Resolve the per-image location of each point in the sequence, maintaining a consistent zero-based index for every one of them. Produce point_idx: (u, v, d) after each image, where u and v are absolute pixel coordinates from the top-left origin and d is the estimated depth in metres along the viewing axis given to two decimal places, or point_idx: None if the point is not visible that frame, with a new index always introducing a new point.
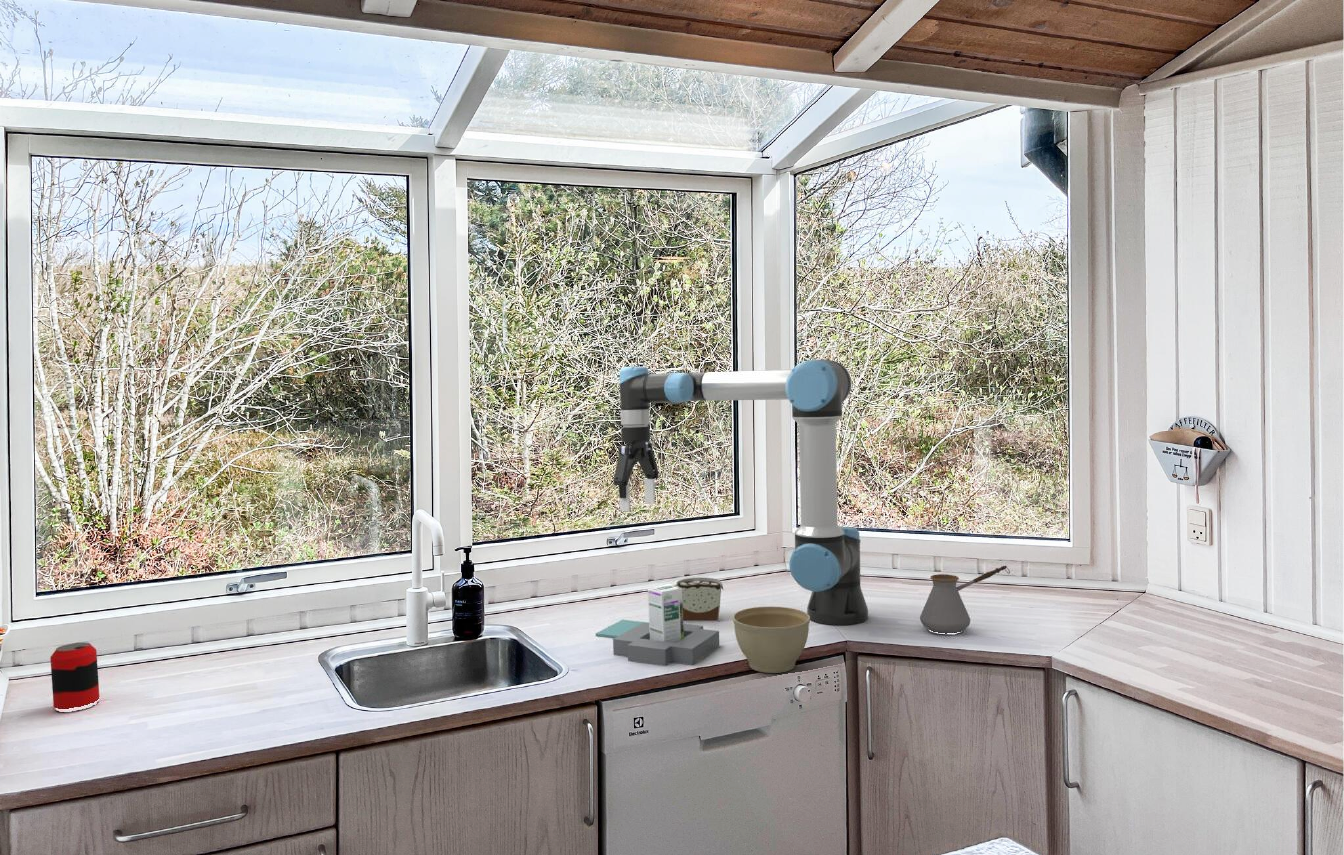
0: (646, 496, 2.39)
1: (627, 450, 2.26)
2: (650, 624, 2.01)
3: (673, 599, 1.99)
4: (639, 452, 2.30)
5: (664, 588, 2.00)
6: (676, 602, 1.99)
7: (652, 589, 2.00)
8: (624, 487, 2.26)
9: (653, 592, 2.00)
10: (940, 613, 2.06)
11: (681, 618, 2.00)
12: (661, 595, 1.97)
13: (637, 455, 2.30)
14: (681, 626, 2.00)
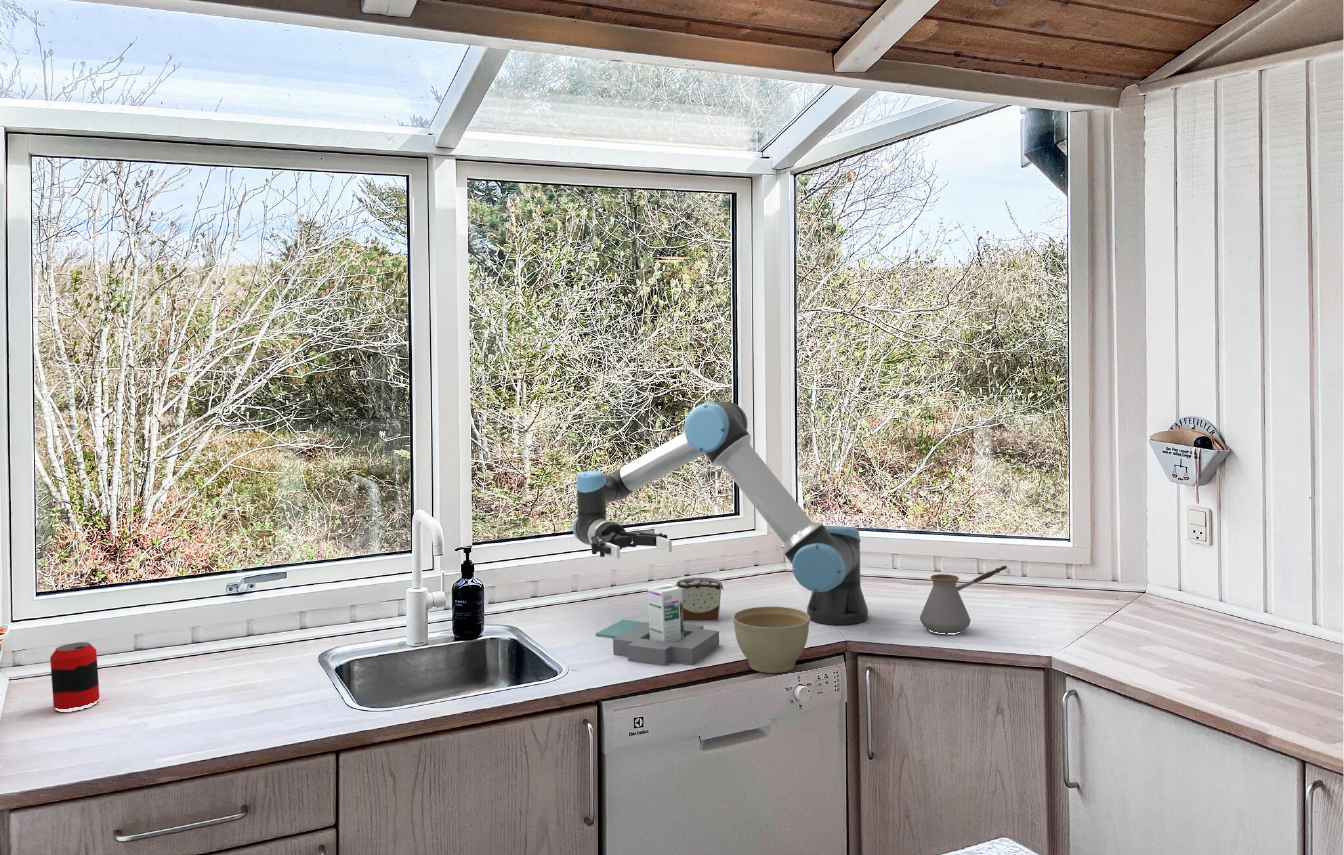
0: (665, 548, 2.14)
1: (592, 537, 2.19)
2: (650, 624, 2.01)
3: (673, 599, 1.99)
4: (612, 533, 2.21)
5: (664, 588, 2.00)
6: (676, 602, 1.99)
7: (652, 589, 2.00)
8: (603, 546, 2.11)
9: (653, 592, 2.00)
10: (940, 613, 2.06)
11: (681, 618, 2.00)
12: (661, 595, 1.97)
13: (610, 534, 2.20)
14: (681, 626, 2.00)
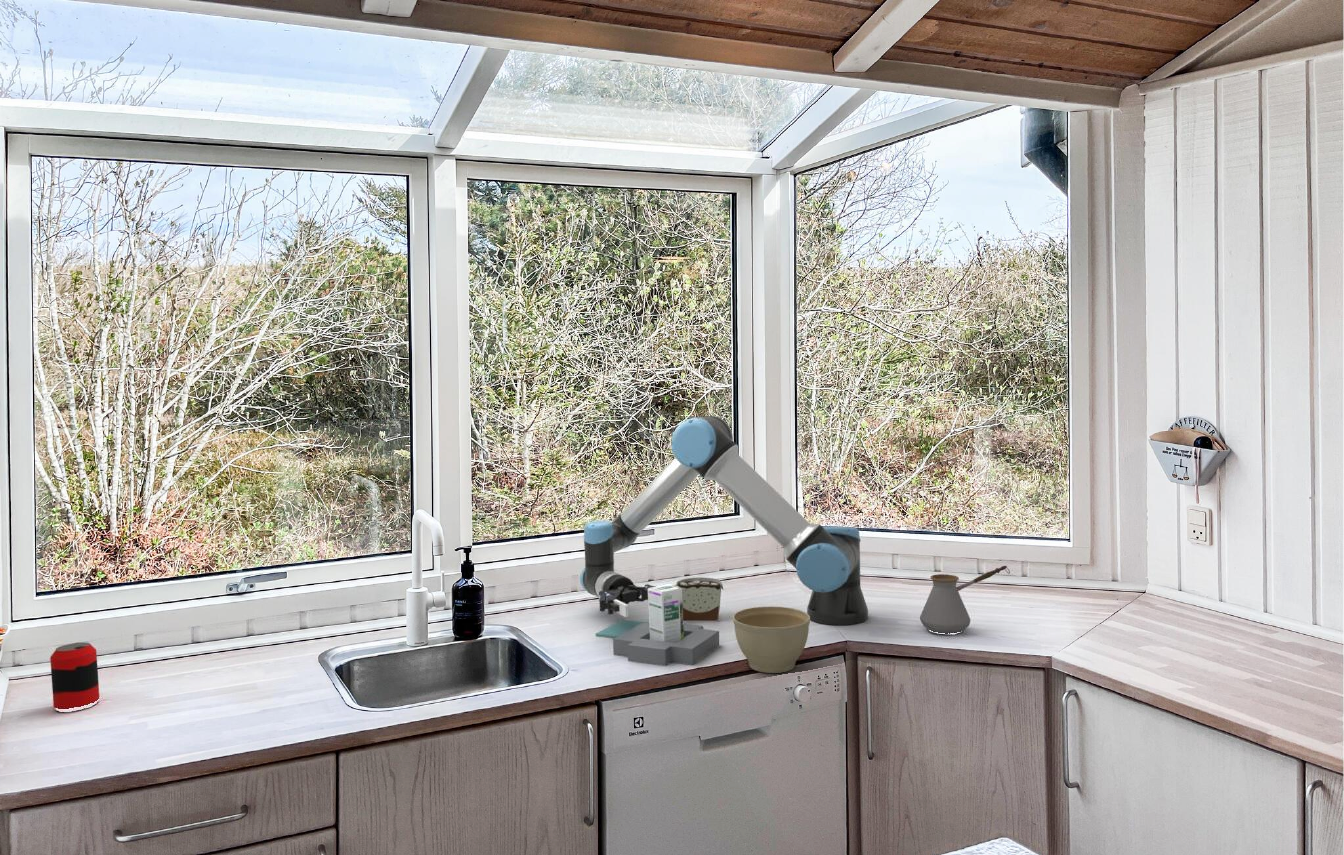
0: None
1: (600, 592, 2.16)
2: (650, 624, 2.01)
3: (673, 599, 1.99)
4: (620, 587, 2.17)
5: (664, 588, 2.00)
6: (676, 602, 1.99)
7: (652, 589, 2.00)
8: (611, 603, 2.07)
9: (653, 592, 2.00)
10: (940, 613, 2.06)
11: (681, 618, 2.00)
12: (661, 595, 1.97)
13: (619, 589, 2.16)
14: (681, 626, 2.00)
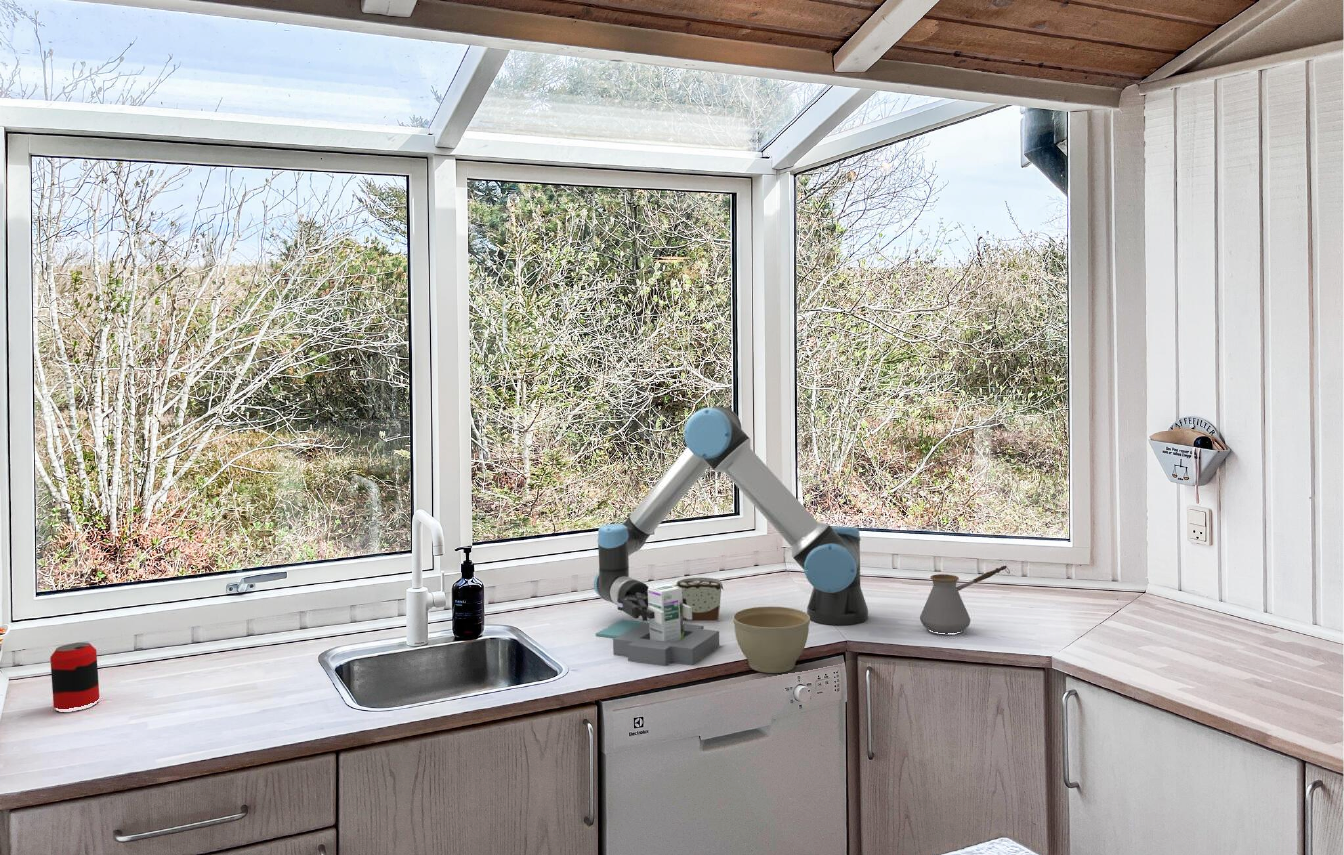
0: (685, 615, 2.00)
1: (620, 599, 2.07)
2: (650, 624, 2.01)
3: (673, 599, 1.99)
4: (637, 593, 2.10)
5: (664, 588, 2.00)
6: (676, 602, 1.99)
7: (652, 589, 2.00)
8: (645, 609, 2.00)
9: (653, 592, 2.00)
10: (940, 613, 2.06)
11: (681, 618, 2.00)
12: (661, 595, 1.97)
13: (638, 595, 2.09)
14: (681, 626, 2.00)
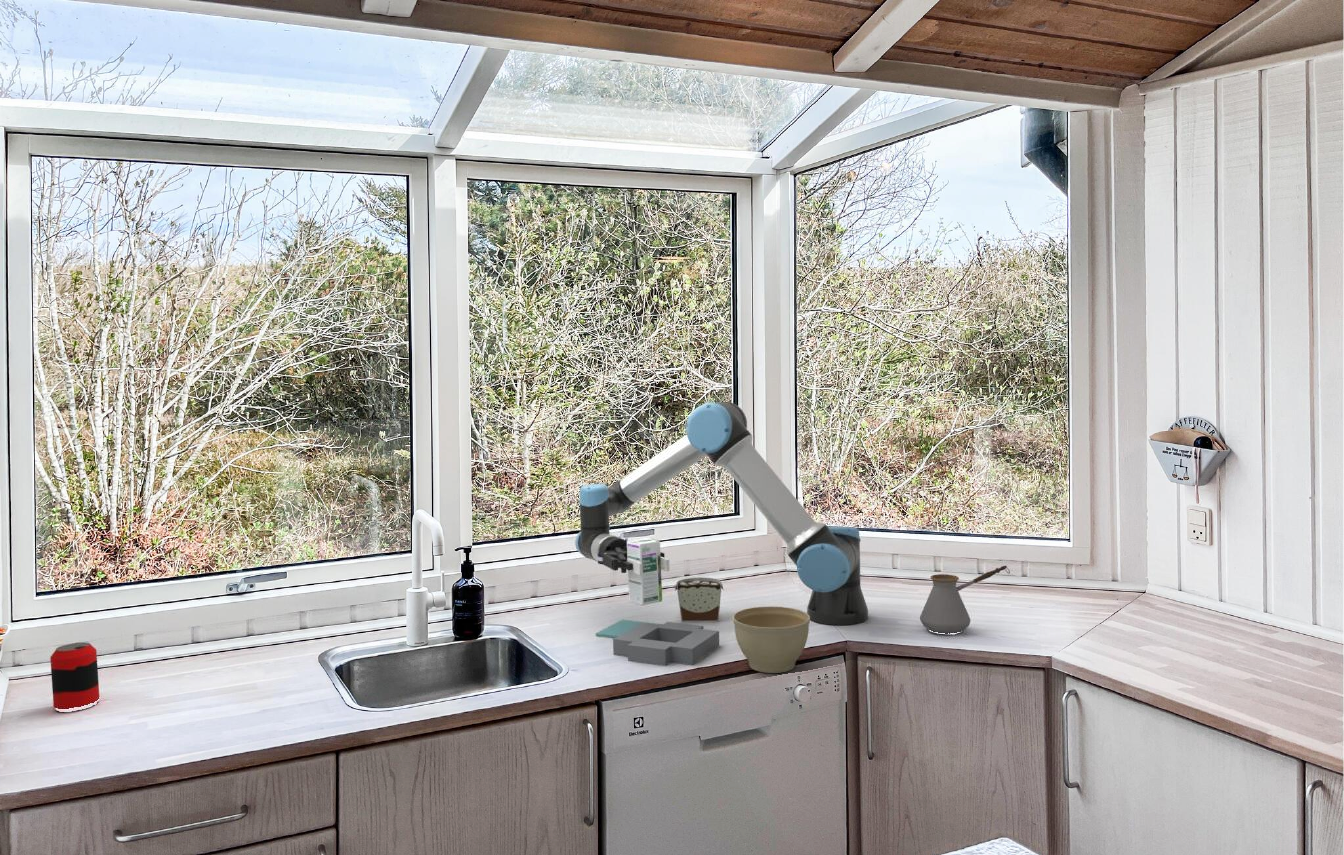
0: (662, 567, 2.06)
1: (600, 554, 2.14)
2: (629, 576, 2.08)
3: (651, 551, 2.06)
4: (617, 548, 2.17)
5: (642, 541, 2.06)
6: (654, 554, 2.06)
7: (631, 542, 2.07)
8: (624, 562, 2.06)
9: (632, 545, 2.06)
10: (940, 613, 2.06)
11: (659, 570, 2.07)
12: (639, 547, 2.04)
13: (617, 550, 2.16)
14: (659, 578, 2.07)
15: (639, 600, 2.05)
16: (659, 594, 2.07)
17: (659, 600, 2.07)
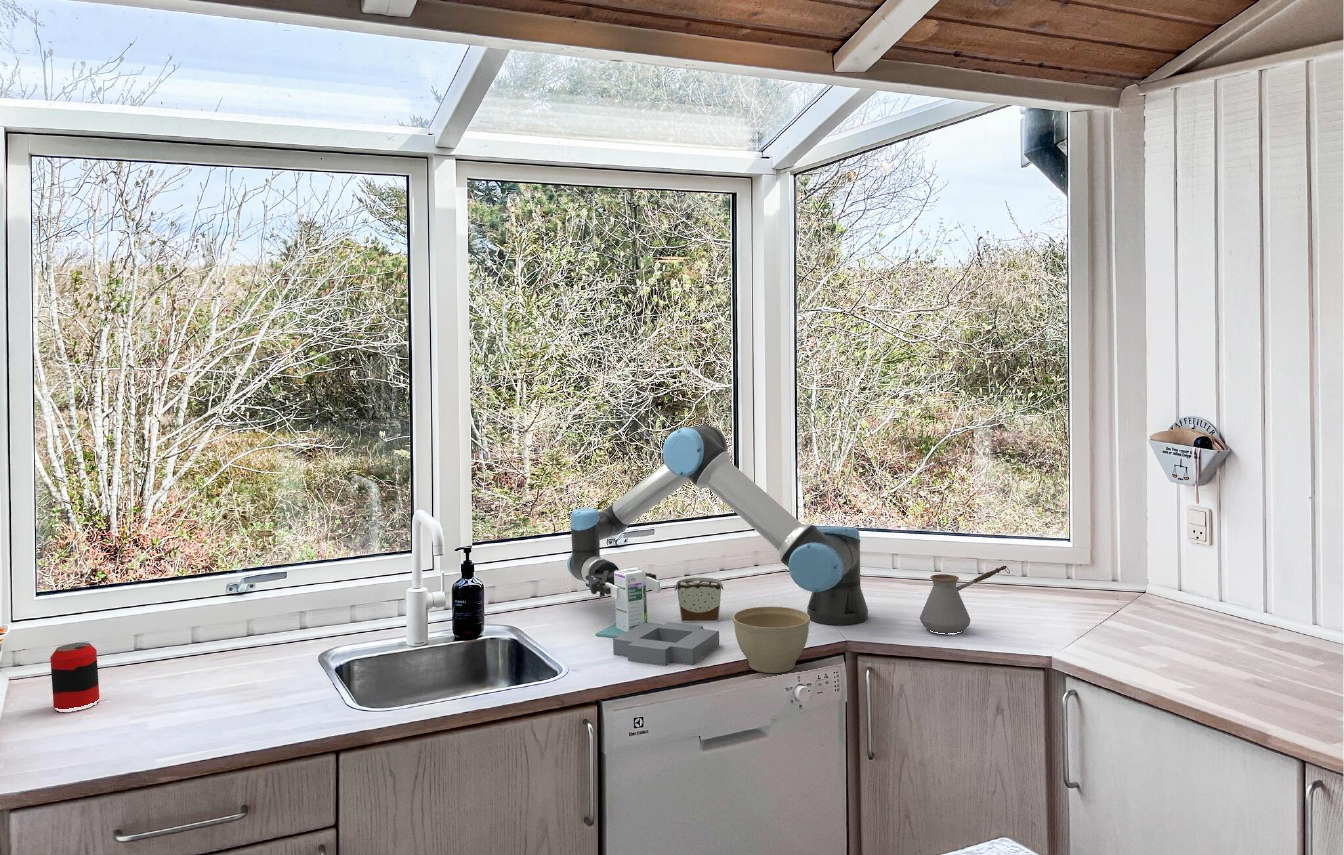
0: (654, 589, 2.17)
1: (587, 576, 2.24)
2: (616, 605, 2.17)
3: (636, 581, 2.14)
4: (605, 571, 2.26)
5: (629, 571, 2.15)
6: (639, 584, 2.15)
7: (618, 572, 2.16)
8: (603, 586, 2.15)
9: (618, 574, 2.15)
10: (940, 613, 2.06)
11: (644, 599, 2.16)
12: (625, 577, 2.13)
13: (605, 573, 2.25)
14: (644, 606, 2.16)
15: (625, 628, 2.14)
16: (644, 622, 2.16)
17: None
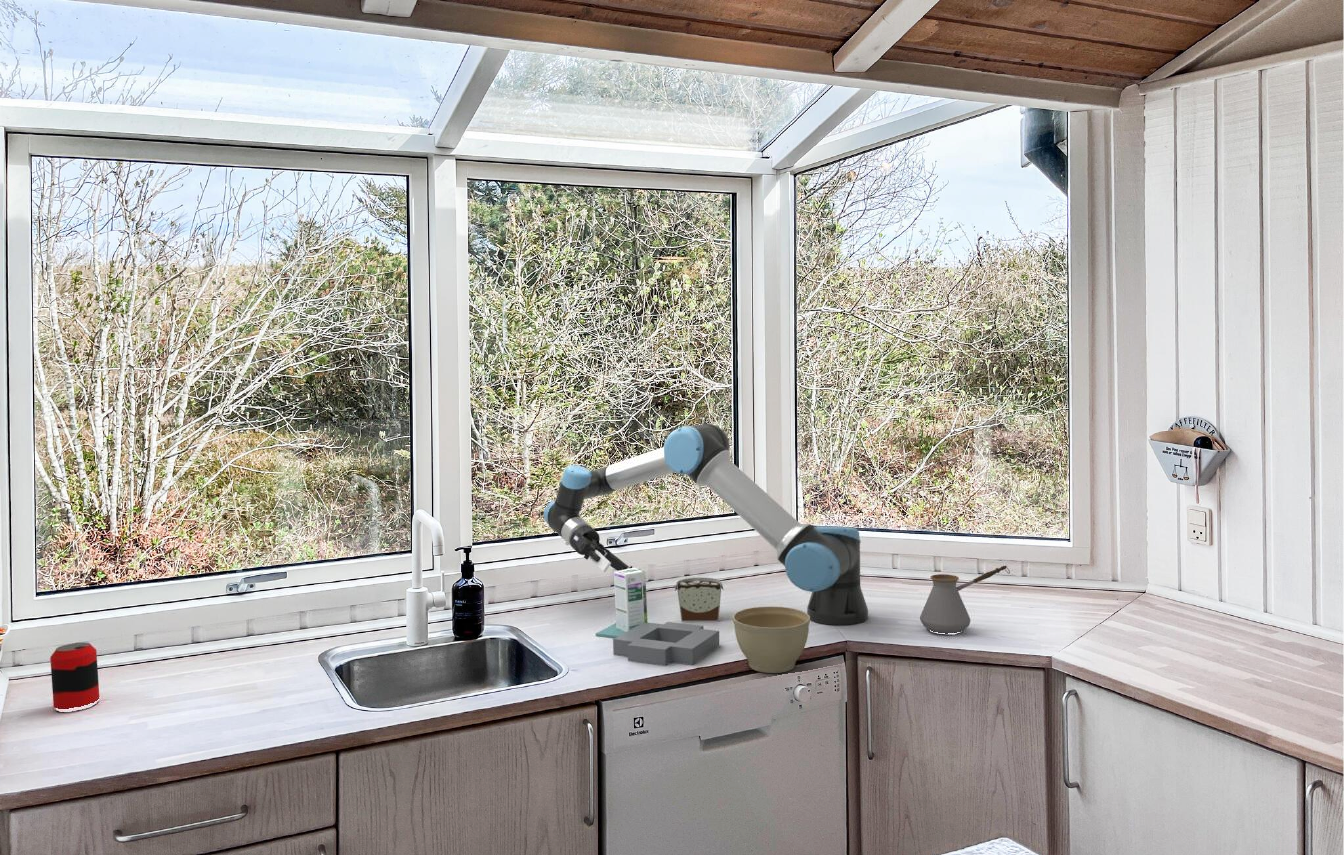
0: None
1: (579, 534, 2.32)
2: (616, 605, 2.17)
3: (636, 581, 2.14)
4: (594, 540, 2.35)
5: (628, 571, 2.15)
6: (639, 584, 2.15)
7: (617, 572, 2.16)
8: (593, 551, 2.25)
9: (618, 574, 2.15)
10: (940, 613, 2.06)
11: (644, 599, 2.16)
12: (625, 577, 2.13)
13: (593, 541, 2.34)
14: (644, 606, 2.16)
15: (625, 628, 2.14)
16: (644, 622, 2.16)
17: None
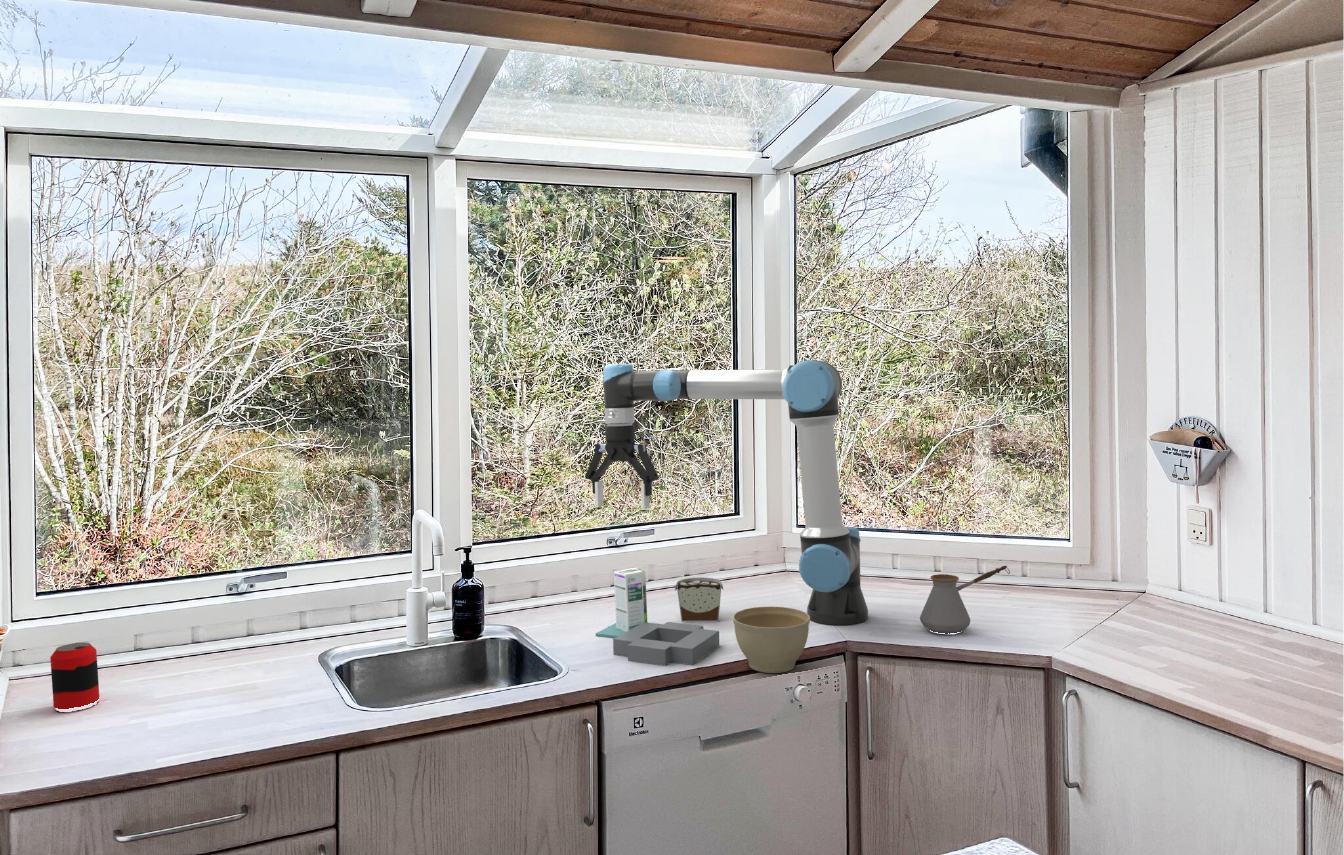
0: (598, 499, 2.30)
1: None
2: (616, 605, 2.17)
3: (636, 581, 2.14)
4: None
5: (628, 571, 2.15)
6: (639, 584, 2.15)
7: (617, 572, 2.16)
8: None
9: (618, 574, 2.15)
10: (940, 613, 2.06)
11: (644, 599, 2.16)
12: (625, 577, 2.13)
13: None
14: (644, 606, 2.16)
15: (625, 628, 2.14)
16: (644, 622, 2.16)
17: None
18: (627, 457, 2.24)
